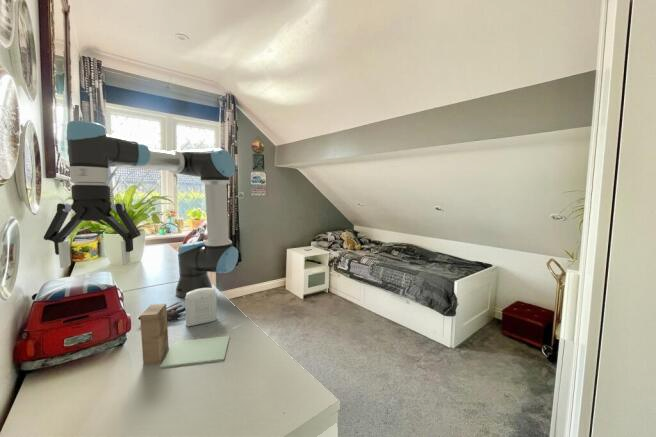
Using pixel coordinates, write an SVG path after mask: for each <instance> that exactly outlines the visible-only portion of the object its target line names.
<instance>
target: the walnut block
mask: <svg viewBox="0 0 656 437" xmlns="http://www.w3.org/2000/svg"><path fill="white" fill-rule="evenodd" d="M166 308H167V303H159V304H158V303H157V304H156V303H155V304H150V305H149V306H148V307H147V308H146V309H145V310H144V311H142V313H141V314H140V315H139V317H140V320H139V322H140V321H141V322H140V334H141V349H142V350H141V352H142V361H143V362H142V363H143V364H142V365H143V366H145V365H154V364H155V365H156V364H160V363H161V361H162V360H163V358H164V357H165V355H167V354H166V353H168V350H170V349H169V331H168V330H169V328H168V321H167V310H168V309H166Z"/></svg>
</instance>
